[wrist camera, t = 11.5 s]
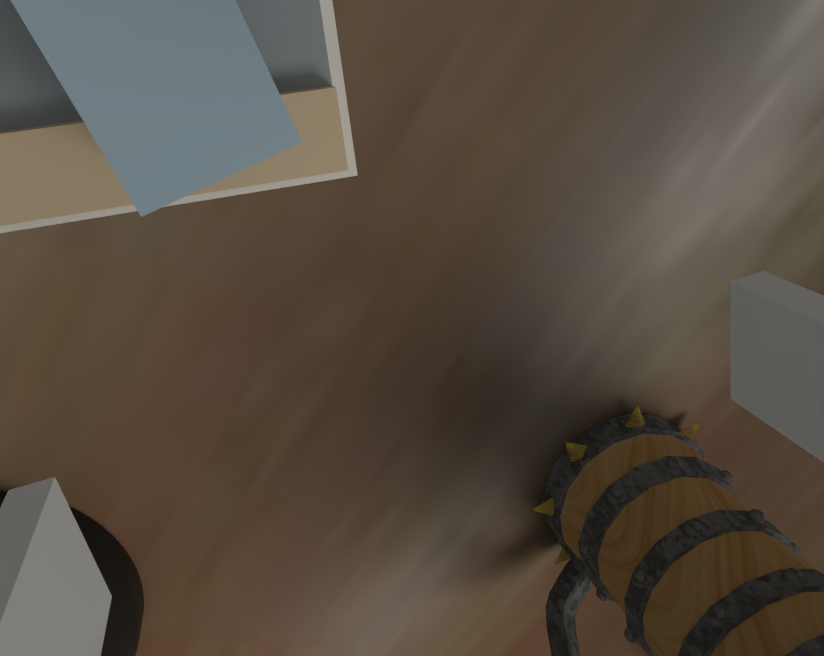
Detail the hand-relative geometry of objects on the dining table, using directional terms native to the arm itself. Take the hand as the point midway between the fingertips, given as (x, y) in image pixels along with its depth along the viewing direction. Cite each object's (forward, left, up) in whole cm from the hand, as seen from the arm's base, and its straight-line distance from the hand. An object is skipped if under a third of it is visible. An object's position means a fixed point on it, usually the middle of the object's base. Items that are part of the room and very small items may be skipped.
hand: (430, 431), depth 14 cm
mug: (+15, -23, -23) cm, 36 cm away
